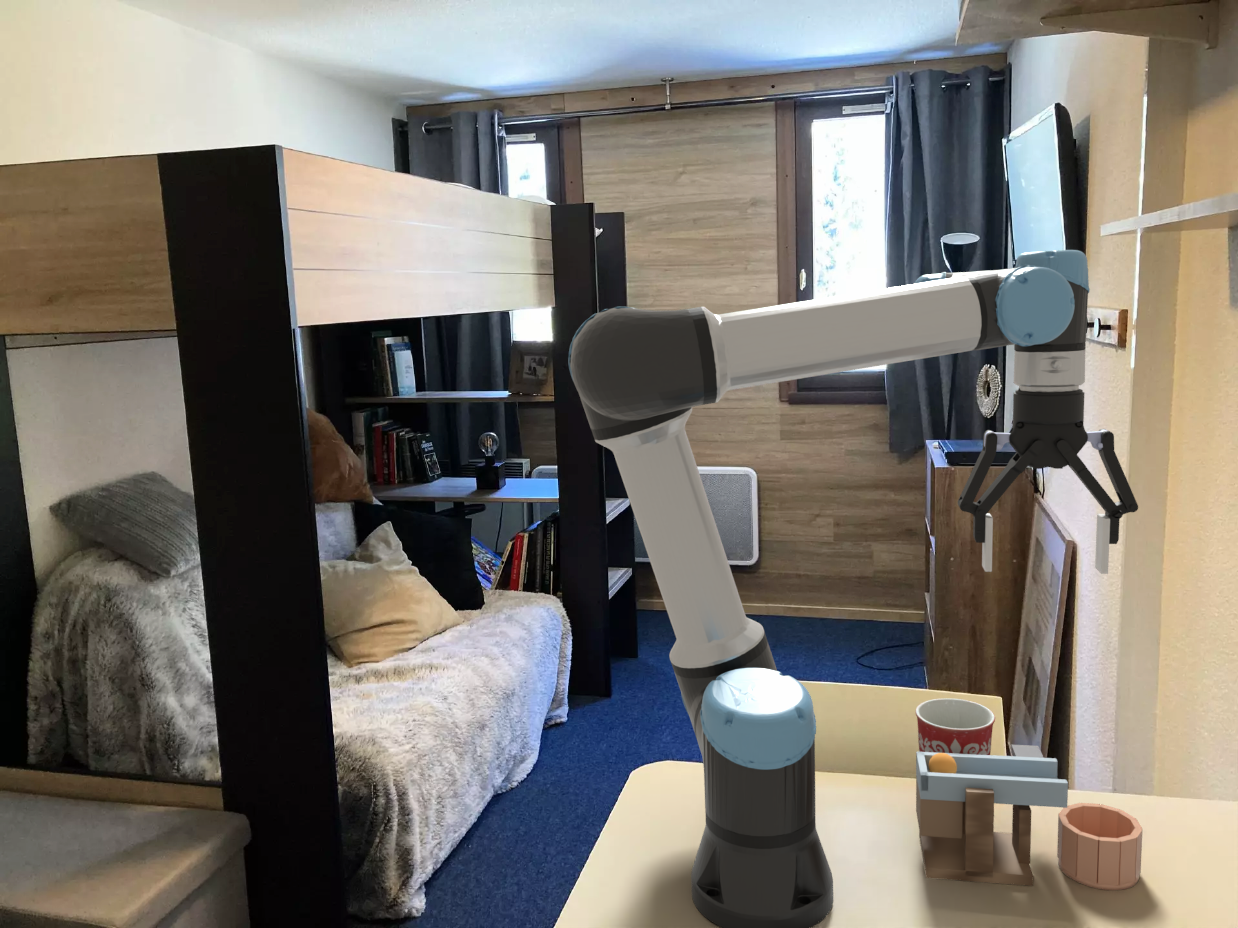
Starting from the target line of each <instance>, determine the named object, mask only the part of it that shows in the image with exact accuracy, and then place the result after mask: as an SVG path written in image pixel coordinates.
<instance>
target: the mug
mask: <svg viewBox="0 0 1238 928" xmlns="http://www.w3.org/2000/svg"><path fill="white" fill-rule="evenodd" d="M915 716H916V721H917V734H918V735H917V738H918V742H917V743H918V752H936V753H956V754H976V755H991V751H992V750H991V749H992V738H993V737H992V736H993V728H994V724H995V722H996V716H995V713H994V712H993V711H992V710H991V709H989V708H988V707H987V706H985V705H983V704H980V703H978V702H975V701H970V700H967V699H962V698H961V699H960V698H934V699H929V700H926V701H922V702H921V703H919V704H918V705H917V706H916V708H915Z"/></svg>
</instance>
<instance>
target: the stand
mask: <svg viewBox="0 0 1238 928" xmlns="http://www.w3.org/2000/svg"><path fill="white" fill-rule="evenodd" d="M994 818H995V803H994V791H993V789H982V788H965V802H963V810H962V838H947V837H932V836H920V831H919V832H918V833H919V835H918V836H919V842H920V843H919V844H920V848H921V849H920V850H921V855H922V860H923V867H924V873H925V878H926V879H936V880H938V879H939V880H951V881H963V882H975V883H976V882H977V883H989V884H991V883H992V884H1002V885H1003V884H1005V885H1014V886H1015V885H1017V886H1028V887H1029V886H1030V887H1034V873H1033V871H1032V868H1031V865H1030V864H1031V846H1032V845H1031V842H1032V841H1031V839H1032V808H1031V806H1030V805H1013V804H1012V823H1011V824H1012V827H1011V832H1001V831H1000V832H999V831H994V829H995V828H994V827H995V826H994V825H995V823H994V822H995V819H994Z"/></svg>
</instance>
